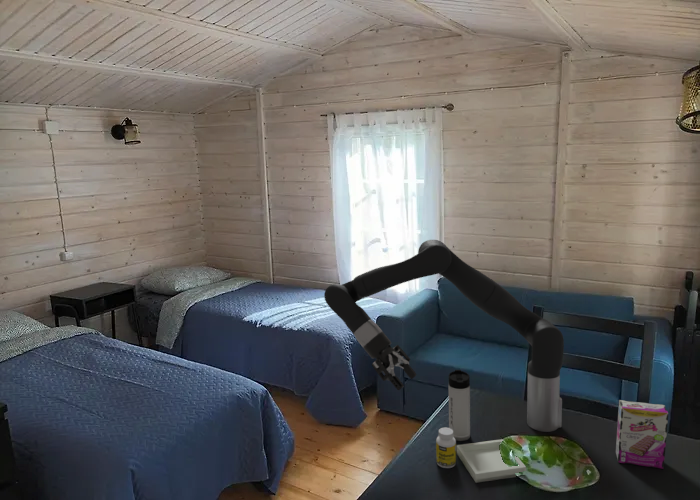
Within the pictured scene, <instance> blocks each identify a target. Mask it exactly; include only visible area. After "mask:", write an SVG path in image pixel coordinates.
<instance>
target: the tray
mask: <svg viewBox="0 0 700 500" xmlns="http://www.w3.org/2000/svg"><path fill="white" fill-rule="evenodd" d="M503 440H504V439H502V438H501V439H494V440H493V439H492V440H487V441H479V442H472V443H462V444H456V456H458V458H459V459H460V461H461V463H462V464H463V465H464V467H465V469H466V470H467V471H468V473H469V475H470V476H471V477H472V479H473V481H474V483H476V484H477V483H482V482H483V483H484V482H489V481H491V482H492V481H496V480H504V479H512V478H517V477H516V475H515V473H519V472H523V471H526V472H527V466H526V465H525V464H524V463H523V461H522V460H521V459H520V458H519V457H518V456H517V455H516V456H517V457H516V456H515V460H516V462H517V463H518V465H519V466H512V467H507V466H506V464H505V463H504V462H503V460H502V457H501V454H500V450H499V445H500V443H501V442H502V441H503Z"/></svg>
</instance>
